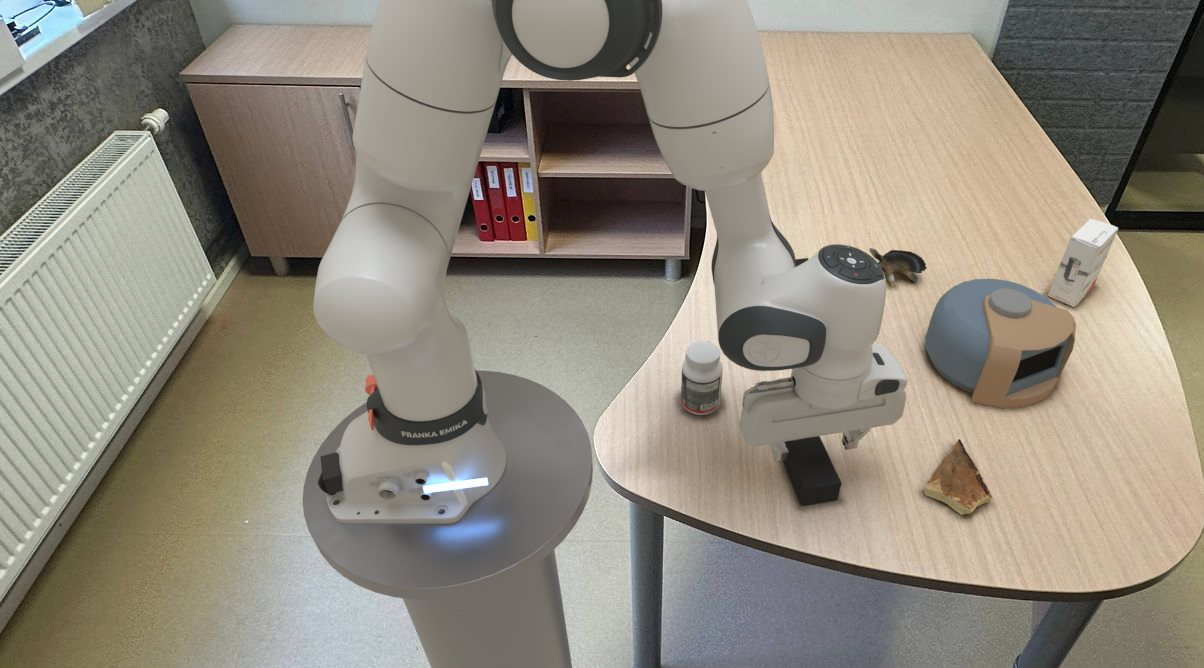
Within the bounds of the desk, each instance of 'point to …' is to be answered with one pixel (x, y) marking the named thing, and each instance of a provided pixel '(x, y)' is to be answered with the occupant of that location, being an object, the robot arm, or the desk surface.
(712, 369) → the pill bottle
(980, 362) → the alarm clock
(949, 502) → the shard
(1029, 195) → the desk surface
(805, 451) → the small black block
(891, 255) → the toy dinosaur figure
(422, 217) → the robot arm
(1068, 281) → the ink box
